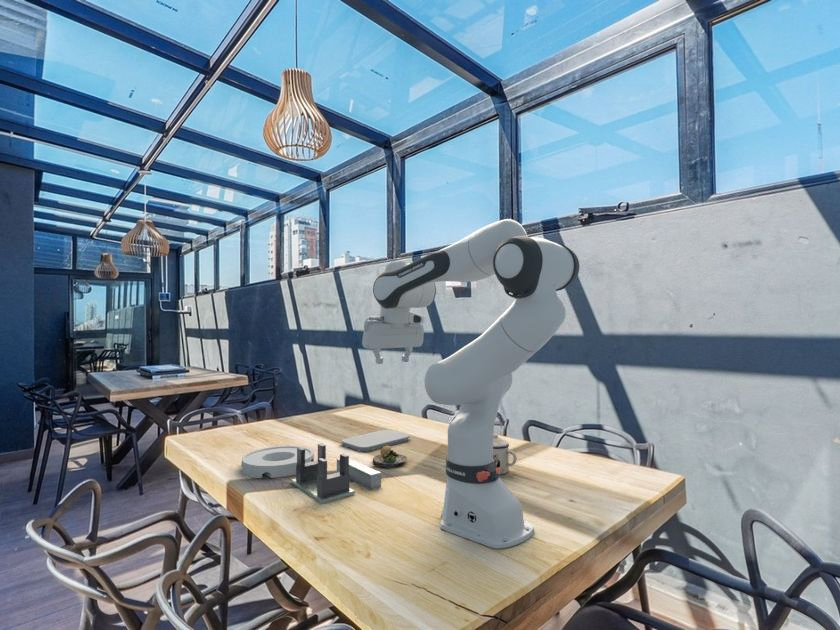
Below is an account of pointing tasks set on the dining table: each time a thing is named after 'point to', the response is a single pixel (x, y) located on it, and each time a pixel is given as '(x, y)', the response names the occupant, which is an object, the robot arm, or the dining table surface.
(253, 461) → the ashtray
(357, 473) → the rail
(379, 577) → the dining table surface
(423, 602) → the dining table surface
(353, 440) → the tablet
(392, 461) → the burger
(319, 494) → the bracket stand
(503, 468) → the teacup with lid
